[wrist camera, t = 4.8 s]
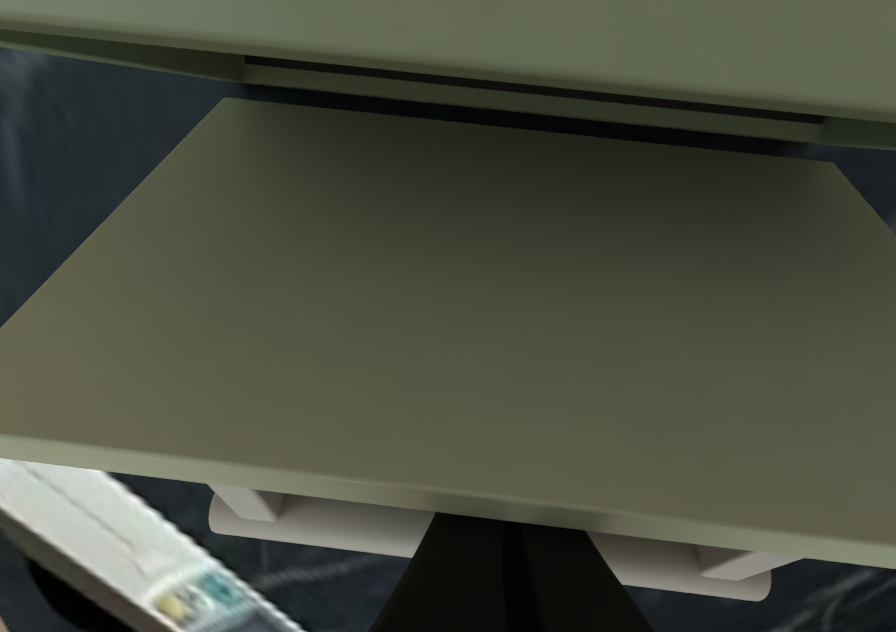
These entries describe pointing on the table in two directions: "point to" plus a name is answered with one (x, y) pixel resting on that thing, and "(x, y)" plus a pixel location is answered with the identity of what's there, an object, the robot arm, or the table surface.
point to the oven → (521, 55)
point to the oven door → (481, 343)
